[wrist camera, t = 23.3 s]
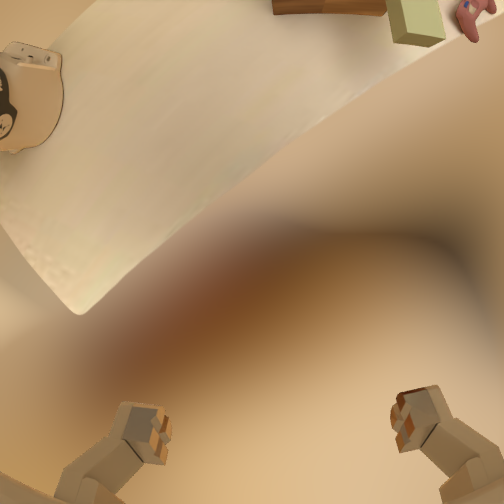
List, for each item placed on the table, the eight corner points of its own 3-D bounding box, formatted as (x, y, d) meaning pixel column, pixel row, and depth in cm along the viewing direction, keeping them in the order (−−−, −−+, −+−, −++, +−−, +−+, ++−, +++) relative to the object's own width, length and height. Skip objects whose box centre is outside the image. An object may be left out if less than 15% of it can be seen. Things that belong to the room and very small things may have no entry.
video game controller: (471, -3, 25) (474, -30, 19) (496, 13, 24) (503, -13, 18) (448, 30, 29) (450, 2, 23) (475, 47, 28) (482, 21, 21)
